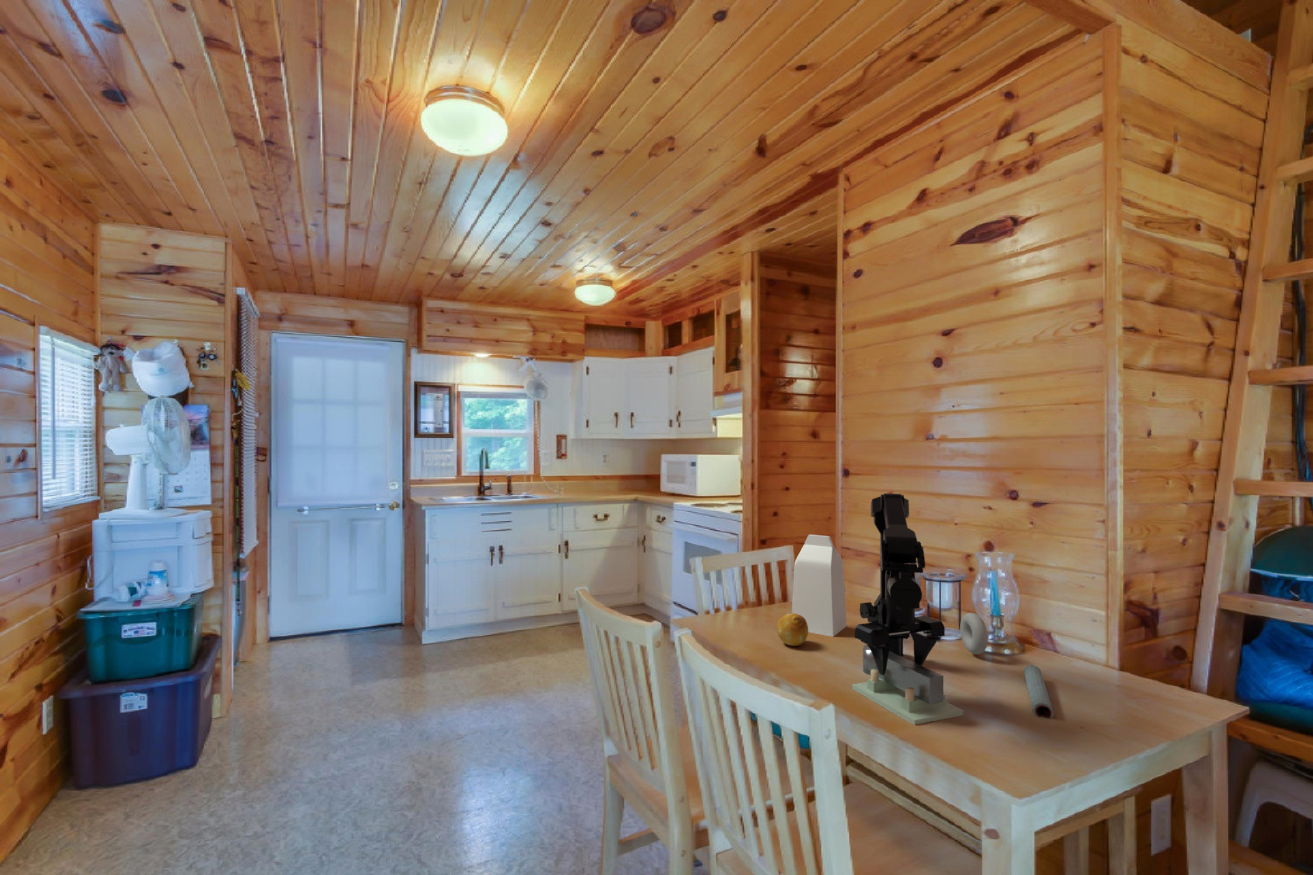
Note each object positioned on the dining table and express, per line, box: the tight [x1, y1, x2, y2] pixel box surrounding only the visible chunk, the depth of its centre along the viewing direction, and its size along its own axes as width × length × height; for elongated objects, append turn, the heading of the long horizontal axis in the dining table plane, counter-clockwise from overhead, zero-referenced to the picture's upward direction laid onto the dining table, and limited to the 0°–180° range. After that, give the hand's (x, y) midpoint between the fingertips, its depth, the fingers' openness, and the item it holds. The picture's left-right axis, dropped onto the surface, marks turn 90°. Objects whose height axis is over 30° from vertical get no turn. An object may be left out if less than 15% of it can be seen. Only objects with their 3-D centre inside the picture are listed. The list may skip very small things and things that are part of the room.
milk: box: [791, 534, 848, 638], centre depth 176 cm, size 12×12×26 cm
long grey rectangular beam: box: [862, 644, 944, 704], centre depth 128 cm, size 5×20×5 cm, turn 21°
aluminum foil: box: [1023, 664, 1055, 719], centre depth 129 cm, size 23×7×3 cm, turn 153°
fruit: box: [776, 612, 809, 647], centre depth 162 cm, size 8×8×8 cm
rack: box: [851, 669, 964, 725], centre depth 127 cm, size 12×18×5 cm, turn 21°
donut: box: [959, 612, 989, 655], centre depth 155 cm, size 10×4×10 cm, turn 178°
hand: (899, 671), depth 128 cm, fingers open, 9 cm apart
